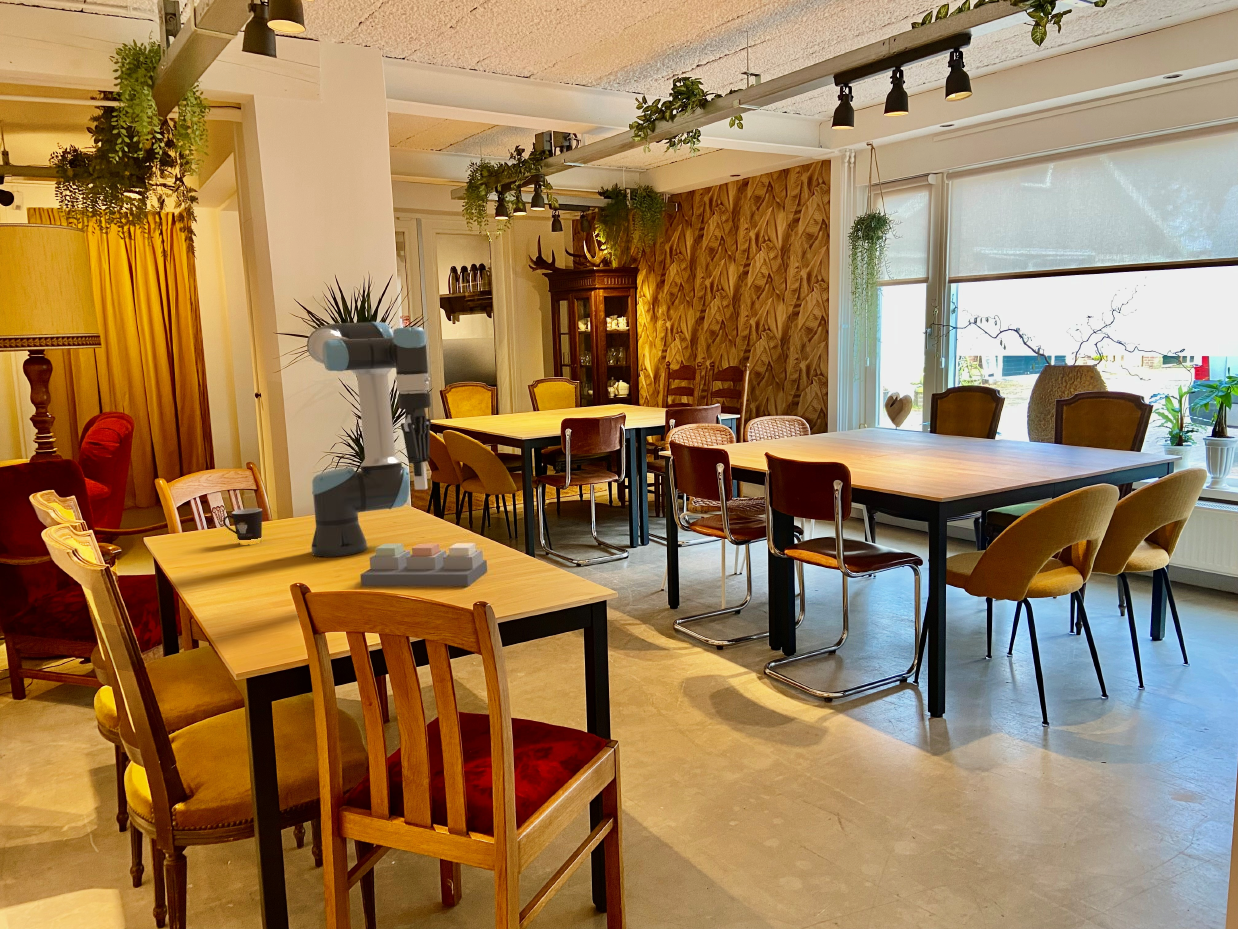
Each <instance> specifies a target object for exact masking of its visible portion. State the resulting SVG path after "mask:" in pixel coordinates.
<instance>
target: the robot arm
mask: <svg viewBox="0 0 1238 929" xmlns="http://www.w3.org/2000/svg"><path fill="white" fill-rule="evenodd" d="M427 343H428V342H427V338H426V331H425V329H424V328H423V327H421V326H412V327H411V326H410V327H396V328H394V330H392V328H391V326H389V324H388V323H386V322H379V321H378V322H377V321H367V322H364V321H363V322H342V323H341V322H338V323H337V322H336V323H329V324H326V325H323V326H320V327H318V328H316V329H315V330H314V331H312V332H311V333H310V335H309V336H308V338H307V341H306V349H307V352H308V354H309V356H310V357H311V359H313V360H314V361H316V362H318V363H320V364H323V365H324V368H325V369H326V370H327V371H329V372H344V371H351V373H353V374H354V375H355V376H356V377H357V378H356V379H357V380H356V381H357V388H358V396H359V397H358V398H359V408H360V418H361V428H362V438H363V439H362V440H363V448H364V449H363V450H364V460H363V462H361V464H360V471H355V469H354V468H353V467H343V468H337V469H331V470H327V471H324V472H320V473H318V474H317V475H315V476H314V477H313V478H312V480H311V481H312V482H311V488H312V491H311V494H312V495H313V496H312V498H313V508H314V519H315V530H314V534H313V538H312V542H311V555H312V554H314V555H316V556H315V557H319V556H324V557H323V558H330V557H331V558H332V557H344V556H349V555H354V554H355V555H356V554H358V553H361V552H364V551H366V550H367V549H368V544H367V539H366V537H365V534H364V532H363V530H362V527H361V525H360V523H359V514H358V513H365V512H366V513H367V512H373V511H380V510H392V509H396V508H397V509H398V508H402V507H404V506H405V505H406V503H407V502H408V500H409V495H410V488H411V487H410V486H411V485H410V484H411V481H410V480H411V479H410V475H409V474H410V473H409V469H408V468H407V467H405V466H403V464H402V460H401V459H399V458H398V457H397V455H396V447H395V446H396V445H395V437H394V426H393V418H392V416H393V415H392V404H391V394H390V385H389V375H388V374H389V373H390V372H391V371H392V369H395V372H396V373H395V374H396V388H397V389H396V390H397V392H399V394H398V395H397V398H398V399H397V400H398V402H397V403H398V408H399V409H400V410H405V411H404V412H405V413H404V422H401V423H400V427H401V431H402V435H403V440H404V445H405V451H406V455H407V456H406V457H407V462H408V464H412V468H413V469H412V470H413V483H414V490H427V489H429V488H428V476H427V464H426V462H430V460H431V459H430V440H431V439H430V437H431V436H430V434H431V433H430V430H431V422H432V420H431V418H427V413H426V409H428V408H430V407H431V406H432V405H431V404H432V403H431V394H430V393H429V392H428V391H429V390H430V381H431V378H430V377H429V367H428V353H427V350H428V348H427ZM314 555H313V556H314Z"/></svg>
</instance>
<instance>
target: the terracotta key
mask: <svg viewBox="0 0 1238 929" xmlns="http://www.w3.org/2000/svg"><path fill="white" fill-rule="evenodd" d="M440 550H441V549H440V543H438V542H435V543H433V542H432V543H431V542H429V543H428V542H427V543H419V544H416V545H415V546H413V547H411V554H412V556H434V555H436V554H437V553H439V552H440Z"/></svg>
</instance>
